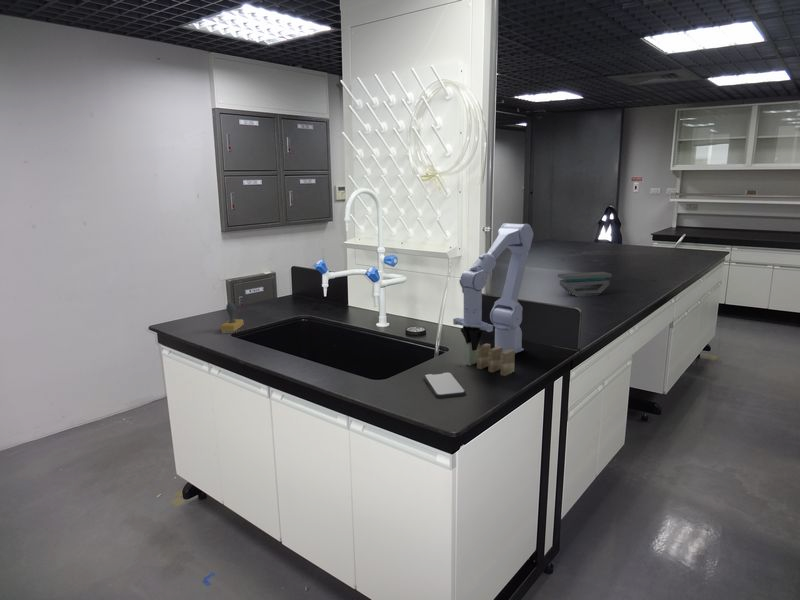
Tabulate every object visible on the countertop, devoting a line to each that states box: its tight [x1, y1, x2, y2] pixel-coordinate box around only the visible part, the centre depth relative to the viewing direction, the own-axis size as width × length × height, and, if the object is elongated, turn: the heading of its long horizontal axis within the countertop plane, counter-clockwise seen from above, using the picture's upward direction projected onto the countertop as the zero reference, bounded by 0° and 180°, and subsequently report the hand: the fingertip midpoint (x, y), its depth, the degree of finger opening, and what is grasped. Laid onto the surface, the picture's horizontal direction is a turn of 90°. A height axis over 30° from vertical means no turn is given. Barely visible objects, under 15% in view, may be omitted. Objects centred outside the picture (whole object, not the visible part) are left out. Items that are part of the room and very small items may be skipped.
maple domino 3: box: [500, 349, 516, 377], centre depth 160 cm, size 2×5×7 cm, turn 134°
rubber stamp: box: [220, 302, 245, 332], centre depth 217 cm, size 10×6×12 cm, turn 175°
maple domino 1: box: [476, 343, 492, 370], centre depth 166 cm, size 2×5×7 cm, turn 134°
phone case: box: [423, 372, 467, 399], centre depth 151 cm, size 9×2×16 cm
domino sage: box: [465, 342, 480, 366], centre depth 169 cm, size 2×5×7 cm, turn 133°
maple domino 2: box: [487, 346, 502, 373], centre depth 163 cm, size 2×5×7 cm, turn 134°
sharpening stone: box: [557, 271, 613, 294], centre depth 267 cm, size 25×8×11 cm, turn 98°
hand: (472, 349), depth 169 cm, fingers closed on domino sage, 1 cm apart
